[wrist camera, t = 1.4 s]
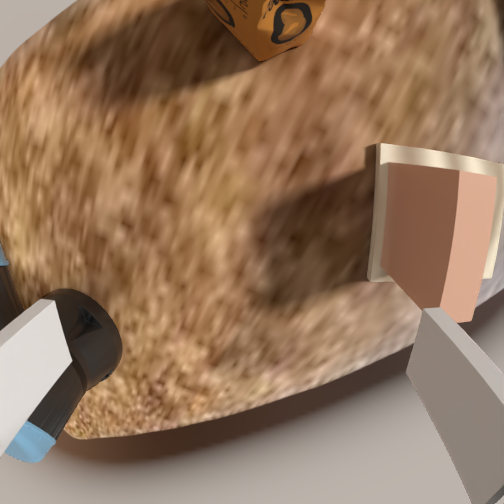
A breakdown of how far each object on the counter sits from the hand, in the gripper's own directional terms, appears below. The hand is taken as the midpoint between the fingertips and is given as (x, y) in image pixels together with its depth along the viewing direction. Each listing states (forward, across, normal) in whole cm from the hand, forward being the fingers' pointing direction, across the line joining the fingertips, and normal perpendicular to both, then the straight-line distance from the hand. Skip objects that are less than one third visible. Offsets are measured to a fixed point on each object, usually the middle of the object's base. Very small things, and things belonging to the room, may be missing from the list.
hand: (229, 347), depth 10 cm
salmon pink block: (+25, +17, 0) cm, 30 cm away
